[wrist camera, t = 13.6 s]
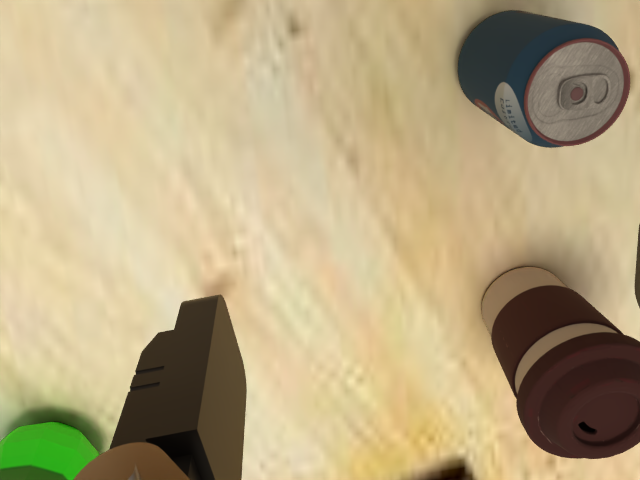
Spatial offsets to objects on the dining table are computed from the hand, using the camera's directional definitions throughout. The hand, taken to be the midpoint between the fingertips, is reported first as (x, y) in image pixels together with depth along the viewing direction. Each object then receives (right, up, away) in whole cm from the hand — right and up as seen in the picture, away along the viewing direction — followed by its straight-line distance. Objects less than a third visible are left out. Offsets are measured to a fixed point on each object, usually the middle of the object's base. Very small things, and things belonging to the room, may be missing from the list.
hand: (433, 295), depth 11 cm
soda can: (+11, +14, +31) cm, 36 cm away
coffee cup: (+15, -4, +40) cm, 43 cm away
